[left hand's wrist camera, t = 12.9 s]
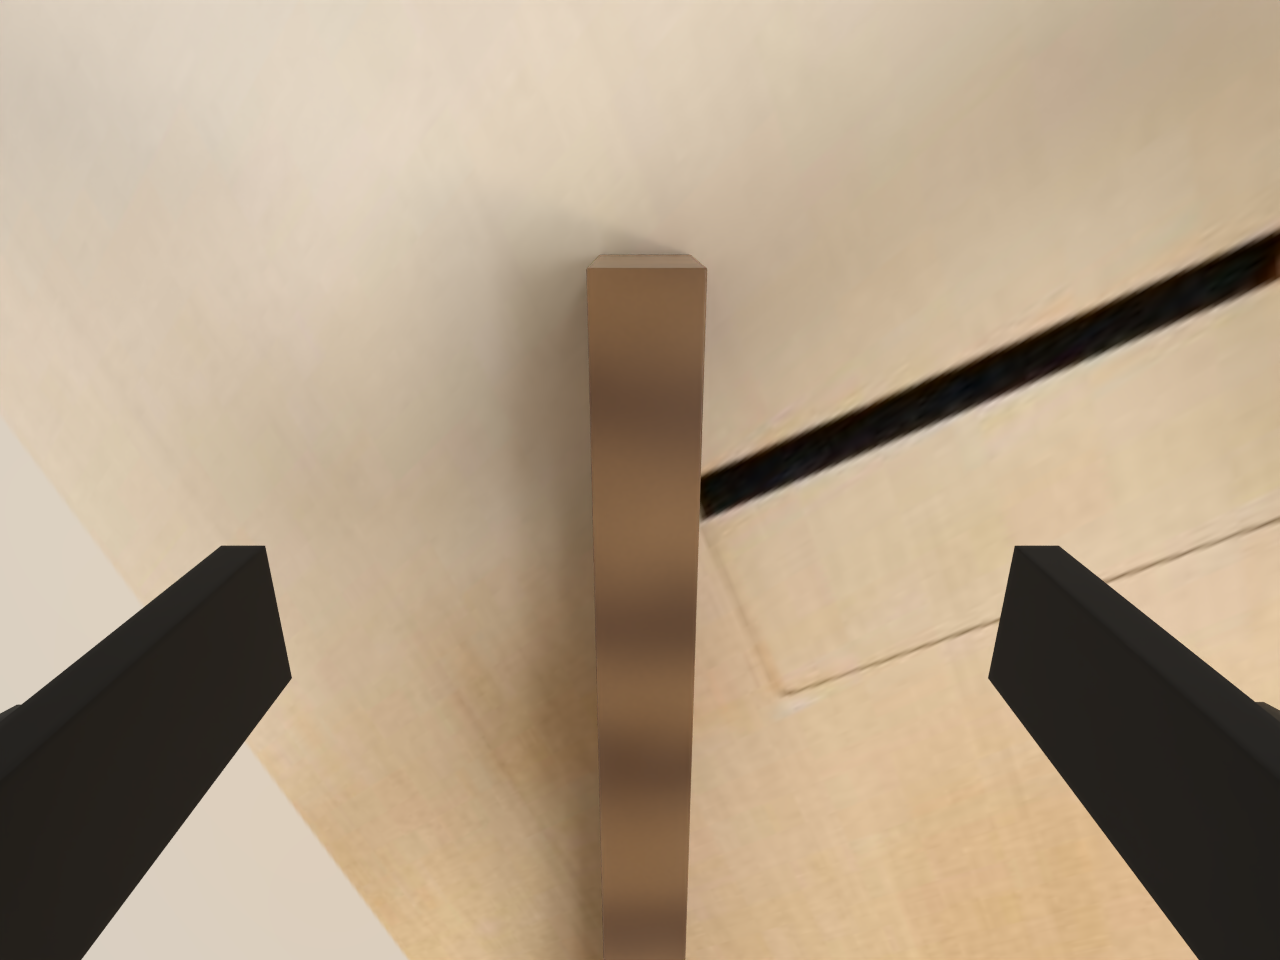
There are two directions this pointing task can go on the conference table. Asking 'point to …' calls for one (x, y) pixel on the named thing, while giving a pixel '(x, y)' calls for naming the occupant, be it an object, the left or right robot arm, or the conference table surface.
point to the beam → (645, 585)
